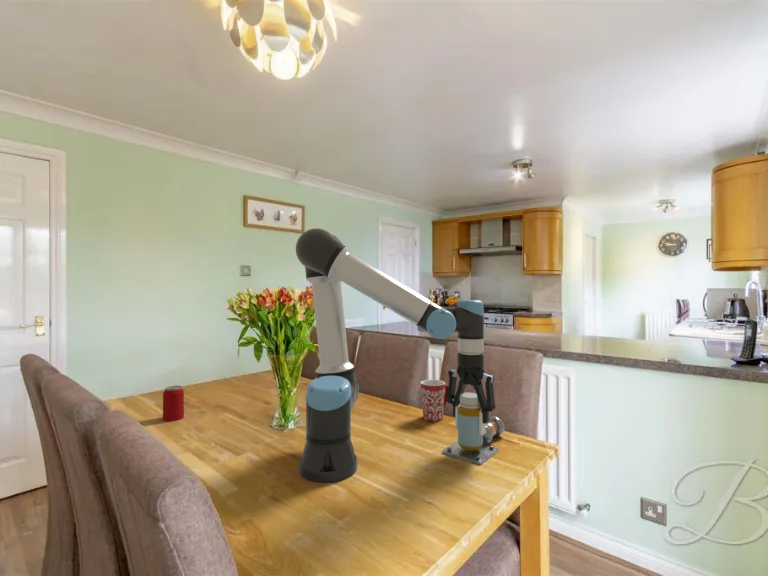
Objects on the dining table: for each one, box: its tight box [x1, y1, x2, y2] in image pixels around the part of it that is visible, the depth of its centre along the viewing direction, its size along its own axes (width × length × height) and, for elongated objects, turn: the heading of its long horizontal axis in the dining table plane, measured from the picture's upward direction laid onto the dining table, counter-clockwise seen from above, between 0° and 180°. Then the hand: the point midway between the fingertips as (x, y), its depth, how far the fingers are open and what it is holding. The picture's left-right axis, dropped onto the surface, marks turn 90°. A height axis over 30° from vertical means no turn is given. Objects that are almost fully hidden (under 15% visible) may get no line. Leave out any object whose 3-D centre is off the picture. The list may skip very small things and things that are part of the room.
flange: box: [441, 415, 506, 466], centre depth 121 cm, size 24×12×6 cm, turn 141°
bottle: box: [457, 391, 483, 450], centre depth 116 cm, size 7×7×15 cm
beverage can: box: [162, 385, 185, 423], centre depth 143 cm, size 7×7×12 cm
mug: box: [420, 379, 449, 422], centre depth 147 cm, size 13×9×14 cm
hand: (470, 430), depth 116 cm, fingers closed on bottle, 7 cm apart
